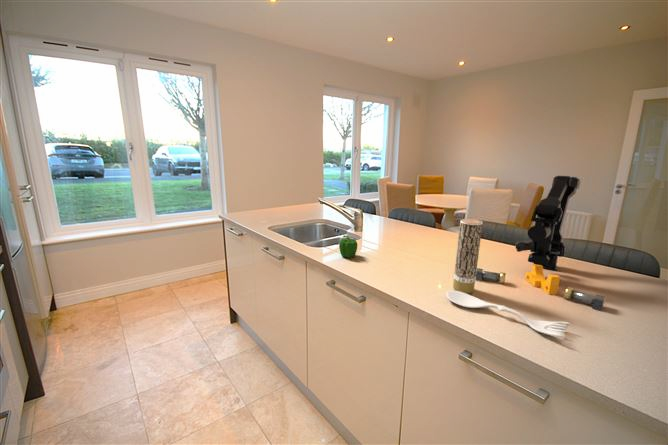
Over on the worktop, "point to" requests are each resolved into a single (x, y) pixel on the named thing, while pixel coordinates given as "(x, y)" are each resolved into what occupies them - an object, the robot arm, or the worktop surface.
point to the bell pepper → (348, 247)
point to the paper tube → (467, 255)
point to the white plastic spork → (540, 326)
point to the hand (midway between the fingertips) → (536, 274)
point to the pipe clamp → (542, 279)
